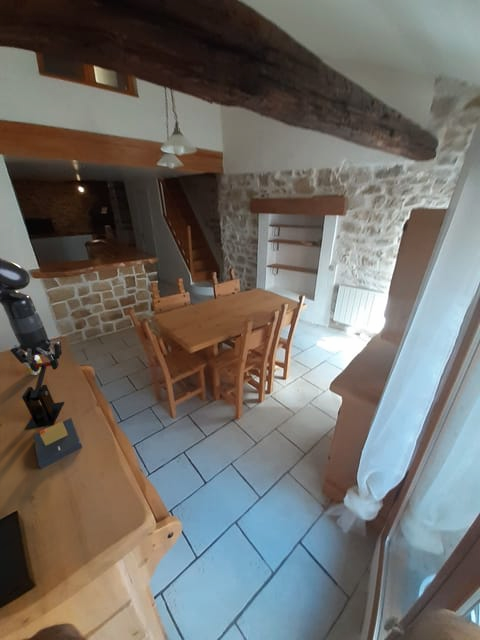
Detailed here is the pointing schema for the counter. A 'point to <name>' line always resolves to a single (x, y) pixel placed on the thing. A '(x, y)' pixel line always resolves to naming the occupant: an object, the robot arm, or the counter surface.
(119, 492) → the counter surface
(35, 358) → the supplement bottle
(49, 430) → the yellow flat block
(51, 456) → the lock plate
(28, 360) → the robot arm
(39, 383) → the latch lever
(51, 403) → the latch bracket
